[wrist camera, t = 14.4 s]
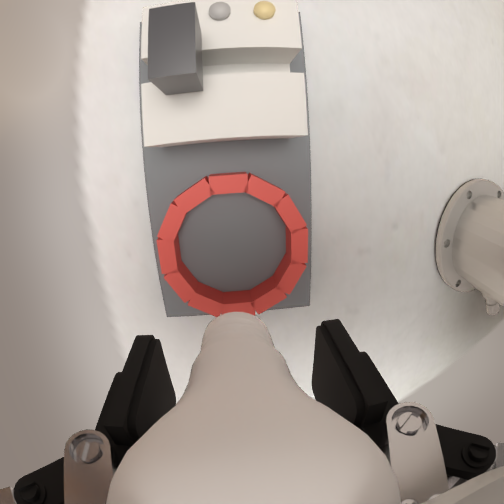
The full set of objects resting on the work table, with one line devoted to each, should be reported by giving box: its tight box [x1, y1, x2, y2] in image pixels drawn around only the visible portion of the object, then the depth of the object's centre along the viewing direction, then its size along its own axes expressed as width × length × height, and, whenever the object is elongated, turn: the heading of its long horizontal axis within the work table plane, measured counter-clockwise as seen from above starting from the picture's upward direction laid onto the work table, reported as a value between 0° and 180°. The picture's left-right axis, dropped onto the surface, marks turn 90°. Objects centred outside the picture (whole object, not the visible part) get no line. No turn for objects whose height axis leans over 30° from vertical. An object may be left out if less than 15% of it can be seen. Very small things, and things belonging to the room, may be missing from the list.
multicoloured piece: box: [139, 0, 311, 317], centre depth 19 cm, size 24×12×7 cm, turn 3°
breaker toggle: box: [148, 2, 203, 95], centre depth 13 cm, size 4×2×7 cm, turn 3°
